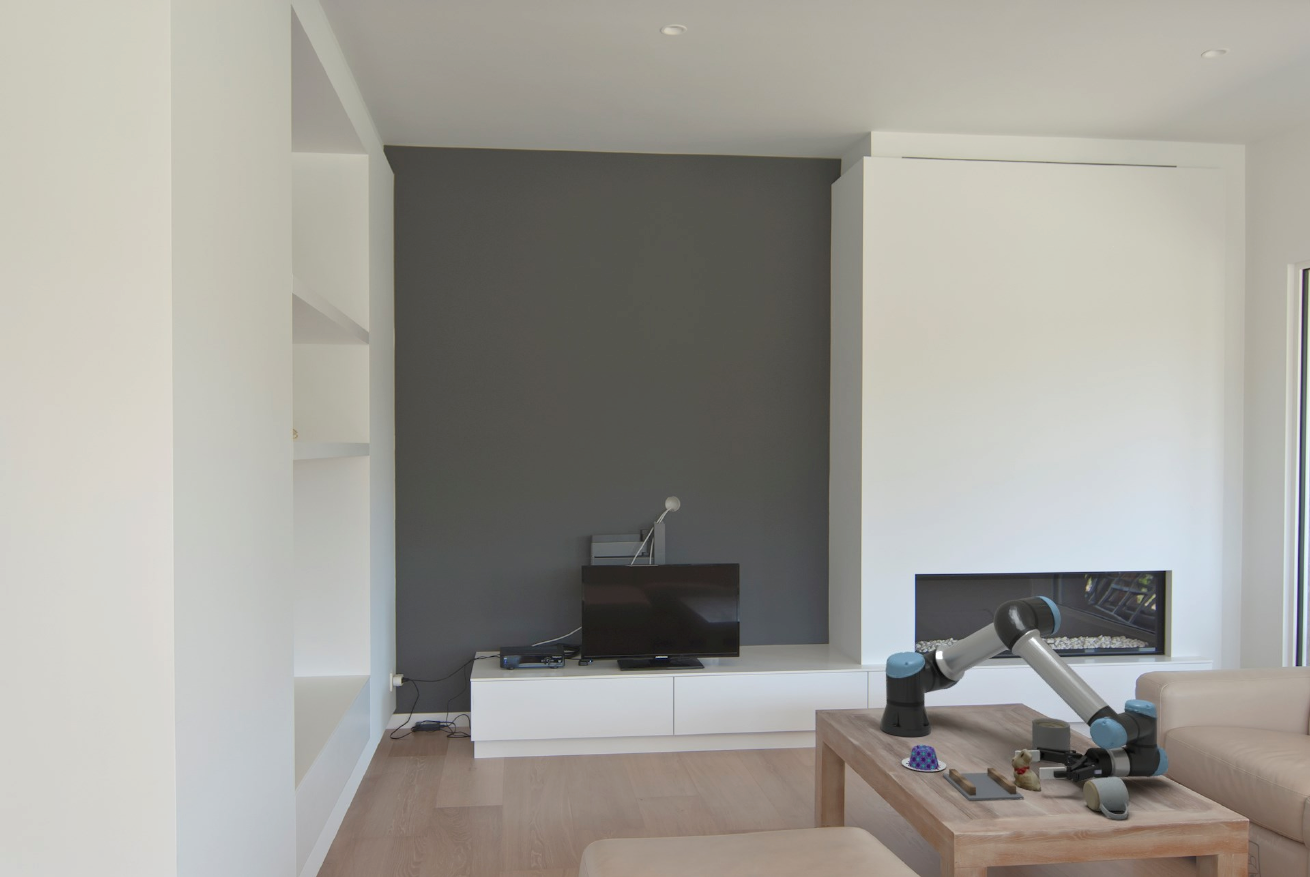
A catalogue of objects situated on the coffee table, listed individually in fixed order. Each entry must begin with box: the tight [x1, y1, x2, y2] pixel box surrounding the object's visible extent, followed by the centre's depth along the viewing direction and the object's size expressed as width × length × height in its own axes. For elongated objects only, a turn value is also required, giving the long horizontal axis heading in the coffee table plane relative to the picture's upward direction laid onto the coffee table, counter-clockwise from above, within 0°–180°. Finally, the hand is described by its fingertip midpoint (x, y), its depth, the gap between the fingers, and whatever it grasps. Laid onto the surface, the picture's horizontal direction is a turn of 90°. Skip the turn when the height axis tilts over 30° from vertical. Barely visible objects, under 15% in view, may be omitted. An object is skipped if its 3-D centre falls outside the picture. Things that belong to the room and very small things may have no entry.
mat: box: [942, 772, 1025, 802], centre depth 246 cm, size 18×14×1 cm
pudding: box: [901, 744, 947, 772], centre depth 264 cm, size 12×12×5 cm
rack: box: [948, 767, 1017, 795], centre depth 246 cm, size 14×12×2 cm
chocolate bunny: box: [1011, 748, 1042, 792], centre depth 247 cm, size 6×8×10 cm
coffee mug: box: [1031, 717, 1072, 764], centre depth 271 cm, size 13×10×10 cm
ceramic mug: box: [1082, 777, 1130, 821], centre depth 229 cm, size 11×8×8 cm
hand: (1027, 764), depth 247 cm, fingers open, 13 cm apart
